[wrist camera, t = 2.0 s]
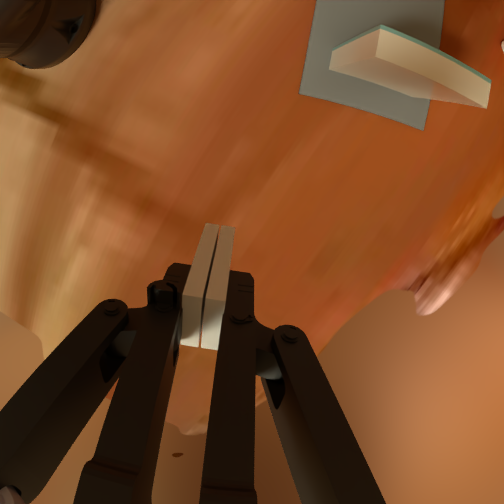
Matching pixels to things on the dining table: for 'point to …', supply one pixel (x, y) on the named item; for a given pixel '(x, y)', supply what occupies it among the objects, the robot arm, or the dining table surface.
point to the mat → (353, 24)
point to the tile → (410, 67)
